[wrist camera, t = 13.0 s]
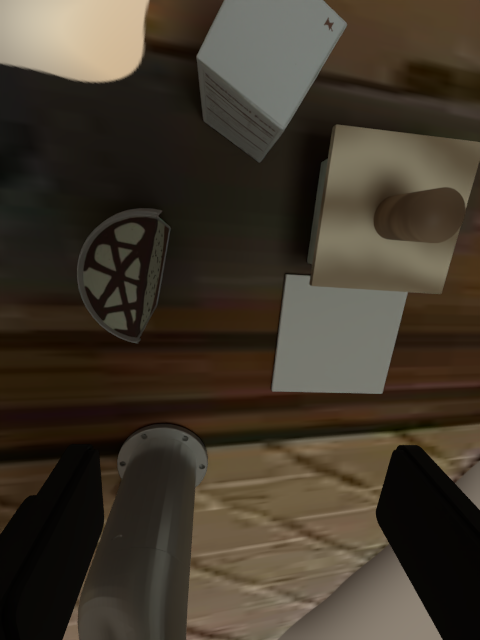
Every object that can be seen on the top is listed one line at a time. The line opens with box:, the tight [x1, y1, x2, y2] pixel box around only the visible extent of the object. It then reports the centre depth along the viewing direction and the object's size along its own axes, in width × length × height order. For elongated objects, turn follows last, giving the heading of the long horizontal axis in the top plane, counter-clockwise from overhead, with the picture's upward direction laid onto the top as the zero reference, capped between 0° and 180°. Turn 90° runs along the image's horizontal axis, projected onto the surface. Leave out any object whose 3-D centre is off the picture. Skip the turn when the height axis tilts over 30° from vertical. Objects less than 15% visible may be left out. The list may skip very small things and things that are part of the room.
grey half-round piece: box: [77, 208, 171, 343], centre depth 30 cm, size 12×6×10 cm, turn 166°
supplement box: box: [196, 0, 347, 162], centre depth 25 cm, size 7×7×13 cm
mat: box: [271, 274, 408, 394], centre depth 39 cm, size 16×16×1 cm
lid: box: [309, 125, 480, 294], centre depth 26 cm, size 14×14×7 cm
